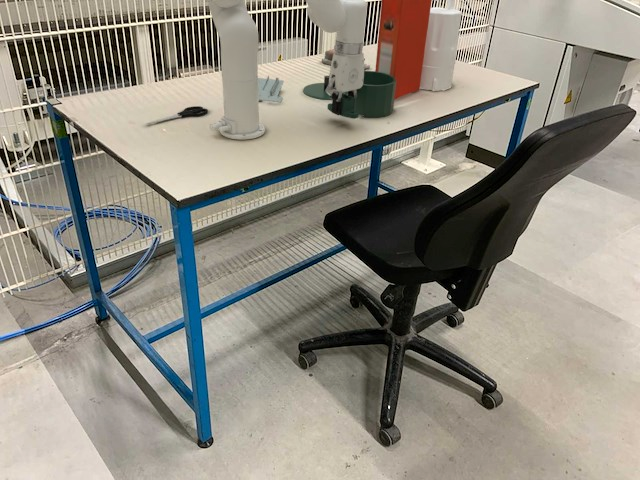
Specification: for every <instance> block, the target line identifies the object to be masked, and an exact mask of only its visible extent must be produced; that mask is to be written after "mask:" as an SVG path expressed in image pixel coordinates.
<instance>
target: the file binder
mask: <svg viewBox="0 0 640 480" xmlns="http://www.w3.org/2000/svg"><path fill="white" fill-rule="evenodd" d="M432 1H433V0H381V3H380V4H381V6H380V15H379V17H380V18H379V28H378V38H377V48H376V49H377V50H376V60H375V69H374V71H377V72H383V73H386V74H389V75H392V76H393V77H395V78H396V81H397V82H396V90H395V98H394V100H396V99H398V98H401V97H404V96H406V95H409V94H414V93H416V92H418V91H420V81H421V73H422V66H423V59H424V52H425V45H426V37H427V30H428V23H429V16H430V9H431V8H432Z"/></svg>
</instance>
